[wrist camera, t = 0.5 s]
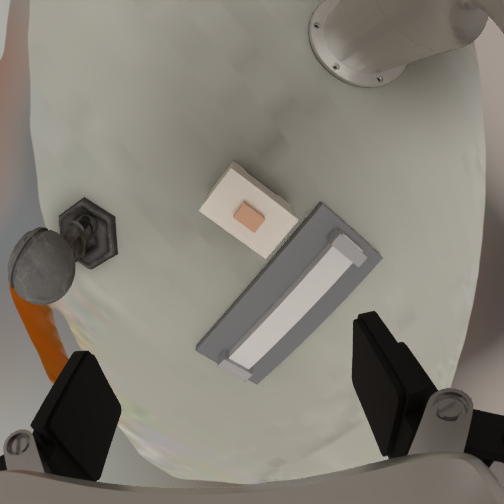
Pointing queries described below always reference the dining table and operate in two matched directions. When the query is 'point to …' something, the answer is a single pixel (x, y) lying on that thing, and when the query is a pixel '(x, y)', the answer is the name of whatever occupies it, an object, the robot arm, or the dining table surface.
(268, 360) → the rail plate
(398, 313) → the dining table surface
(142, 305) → the dining table surface
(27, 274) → the figurine
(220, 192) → the block
